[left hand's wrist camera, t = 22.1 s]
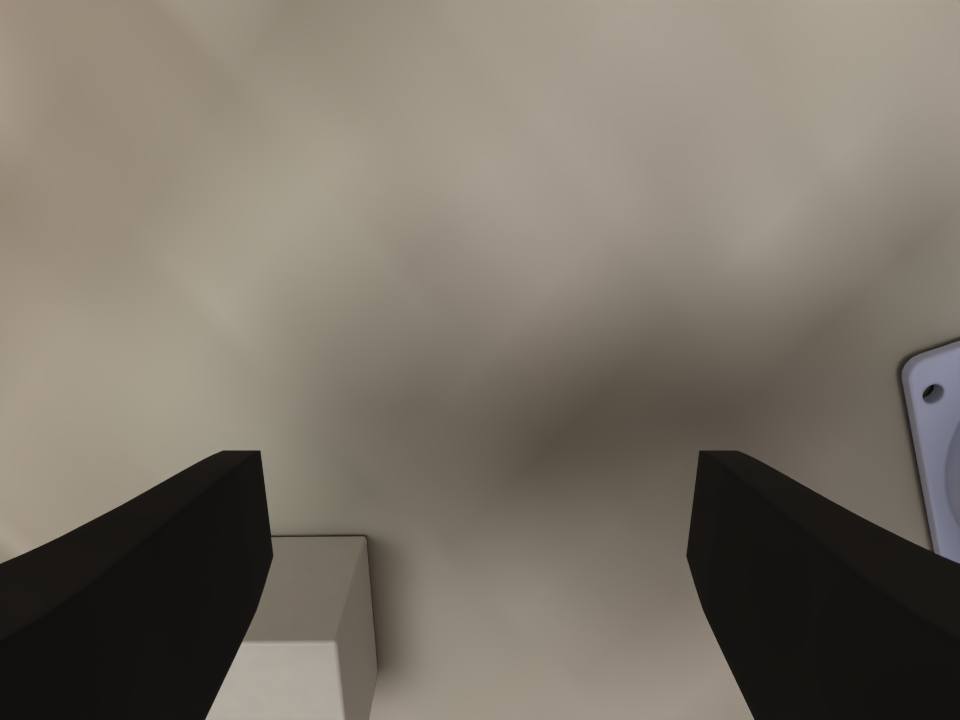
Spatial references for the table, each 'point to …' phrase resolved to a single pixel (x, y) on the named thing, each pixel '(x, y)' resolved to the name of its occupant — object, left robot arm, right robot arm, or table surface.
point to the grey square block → (307, 638)
